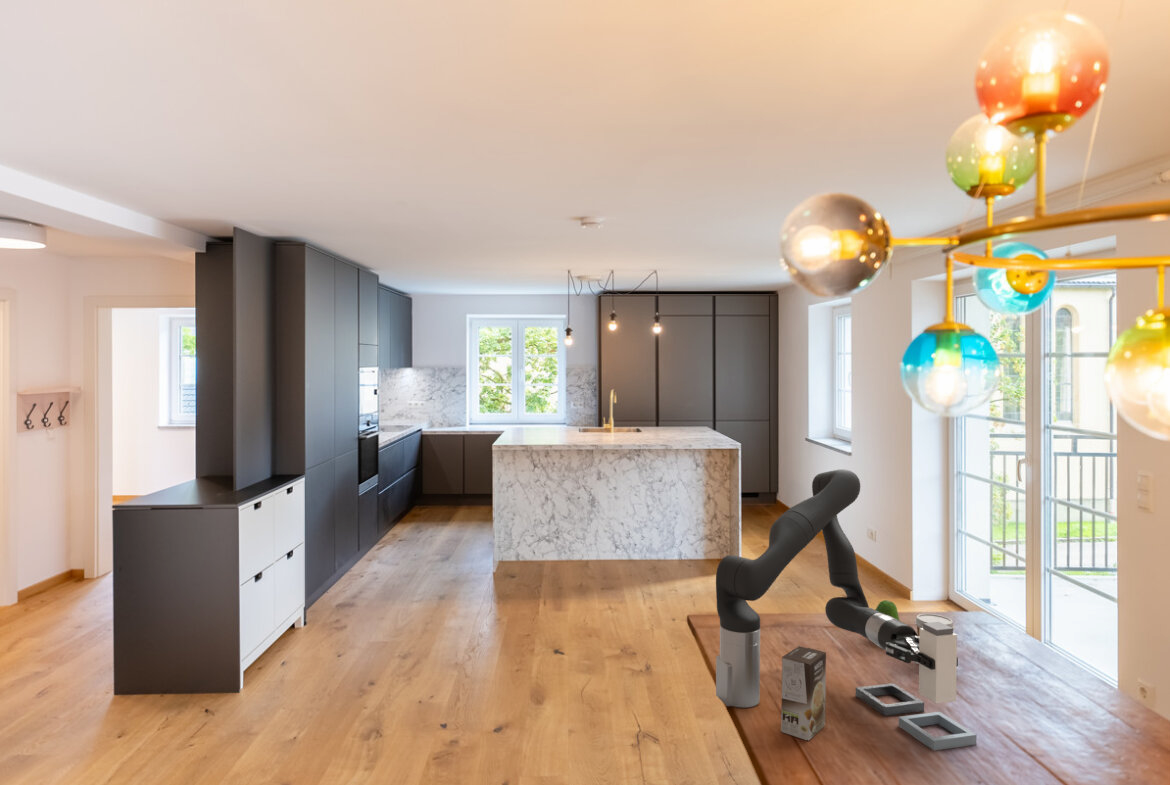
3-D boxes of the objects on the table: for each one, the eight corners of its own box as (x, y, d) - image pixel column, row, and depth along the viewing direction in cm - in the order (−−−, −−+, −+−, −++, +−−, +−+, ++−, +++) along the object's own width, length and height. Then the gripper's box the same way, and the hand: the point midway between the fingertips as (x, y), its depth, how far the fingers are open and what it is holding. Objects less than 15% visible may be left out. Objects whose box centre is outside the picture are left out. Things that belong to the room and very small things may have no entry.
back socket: (884, 716, 155) (884, 707, 155) (855, 695, 165) (855, 687, 165) (924, 711, 158) (924, 702, 158) (893, 691, 168) (893, 683, 168)
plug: (935, 703, 144) (936, 631, 144) (918, 693, 149) (919, 622, 148) (956, 701, 145) (957, 628, 145) (938, 690, 150) (939, 620, 150)
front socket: (933, 750, 141) (933, 740, 141) (898, 726, 151) (898, 716, 151) (976, 744, 143) (976, 734, 143) (939, 720, 153) (939, 711, 153)
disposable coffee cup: (962, 668, 182) (963, 622, 182) (935, 673, 178) (936, 627, 178) (932, 654, 191) (932, 611, 191) (906, 659, 187) (906, 615, 187)
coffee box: (809, 742, 144) (810, 664, 144) (780, 732, 148) (780, 657, 148) (825, 725, 151) (826, 651, 151) (797, 716, 155) (798, 644, 155)
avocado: (905, 646, 197) (906, 603, 197) (880, 647, 196) (880, 605, 196) (889, 635, 205) (890, 595, 205) (864, 637, 204) (865, 596, 204)
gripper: (863, 621, 159) (916, 649, 143) (917, 615, 163) (974, 642, 146) (863, 653, 160) (915, 685, 143) (916, 647, 163) (973, 677, 147)
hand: (945, 663), depth 145 cm, fingers closed on plug, 5 cm apart
